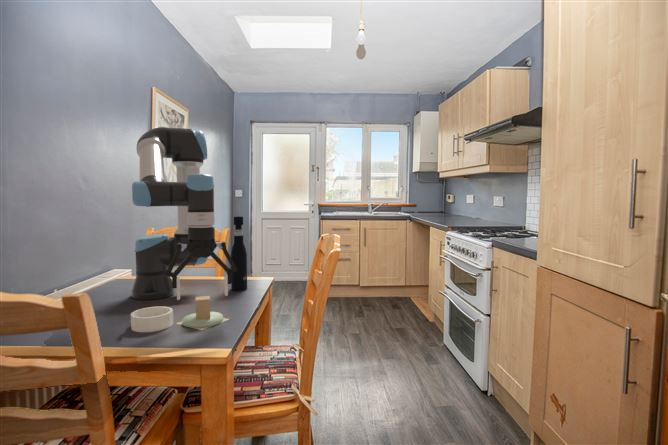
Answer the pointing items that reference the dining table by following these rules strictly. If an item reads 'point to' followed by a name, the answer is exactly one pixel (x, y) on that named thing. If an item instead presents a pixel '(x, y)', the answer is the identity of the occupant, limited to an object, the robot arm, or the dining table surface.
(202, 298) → the lid
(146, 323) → the bowl
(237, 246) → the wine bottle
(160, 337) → the dining table surface
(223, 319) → the mat
